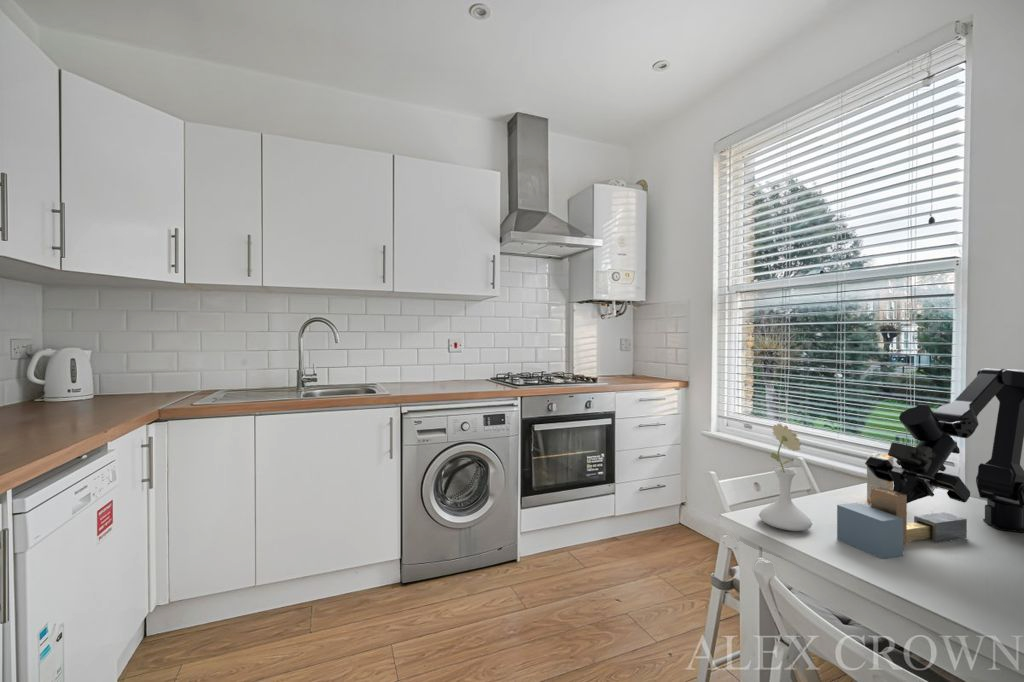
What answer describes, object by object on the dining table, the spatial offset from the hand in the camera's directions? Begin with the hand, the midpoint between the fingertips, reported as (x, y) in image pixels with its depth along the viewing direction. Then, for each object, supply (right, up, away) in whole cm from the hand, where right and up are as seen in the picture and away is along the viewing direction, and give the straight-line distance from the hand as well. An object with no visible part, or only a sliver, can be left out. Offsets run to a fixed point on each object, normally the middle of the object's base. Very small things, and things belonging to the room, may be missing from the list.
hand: (894, 505), depth 104 cm
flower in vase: (-19, -9, +11) cm, 23 cm away
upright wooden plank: (+1, -8, 0) cm, 8 cm away
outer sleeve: (+14, -9, +4) cm, 17 cm away
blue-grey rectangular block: (-7, -9, -2) cm, 11 cm away
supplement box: (+20, -9, +28) cm, 36 cm away
